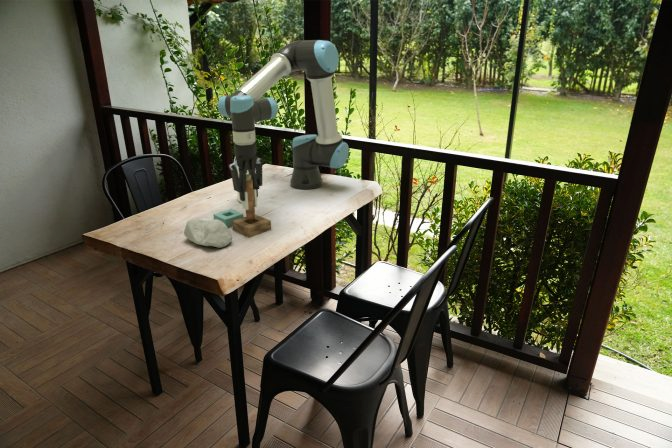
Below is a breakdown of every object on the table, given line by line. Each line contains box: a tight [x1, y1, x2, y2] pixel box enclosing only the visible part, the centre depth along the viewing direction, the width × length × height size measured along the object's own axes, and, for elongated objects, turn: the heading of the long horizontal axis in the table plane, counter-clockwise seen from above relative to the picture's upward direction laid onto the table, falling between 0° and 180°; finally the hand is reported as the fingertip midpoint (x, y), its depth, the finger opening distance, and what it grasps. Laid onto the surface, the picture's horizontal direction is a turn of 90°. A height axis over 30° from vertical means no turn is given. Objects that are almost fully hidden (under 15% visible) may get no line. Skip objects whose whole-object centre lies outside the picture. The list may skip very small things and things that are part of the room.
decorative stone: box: [183, 218, 233, 248], centre depth 160 cm, size 17×10×10 cm
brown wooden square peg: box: [245, 174, 256, 219], centre depth 166 cm, size 3×3×16 cm
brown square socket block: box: [232, 213, 272, 238], centre depth 171 cm, size 10×10×4 cm
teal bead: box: [213, 208, 244, 229], centre depth 177 cm, size 8×8×4 cm
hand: (250, 207), depth 168 cm, fingers closed on brown wooden square peg, 3 cm apart
